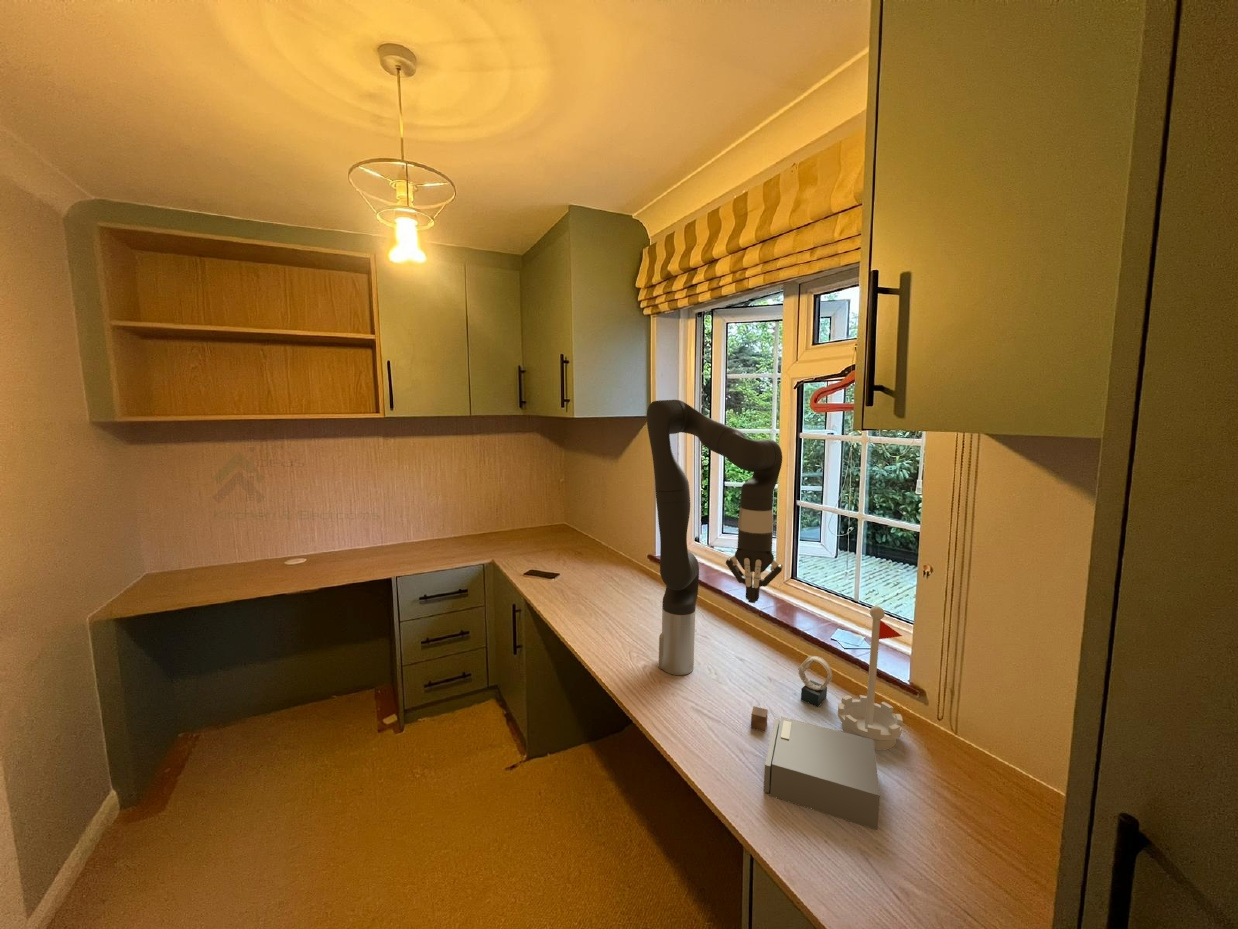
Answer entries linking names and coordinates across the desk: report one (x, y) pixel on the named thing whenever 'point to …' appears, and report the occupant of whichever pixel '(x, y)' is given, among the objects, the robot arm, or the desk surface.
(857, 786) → the housing
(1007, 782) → the desk surface
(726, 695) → the desk surface
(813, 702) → the watch
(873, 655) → the flag stand
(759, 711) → the brown block
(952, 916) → the desk surface
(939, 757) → the desk surface
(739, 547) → the robot arm
